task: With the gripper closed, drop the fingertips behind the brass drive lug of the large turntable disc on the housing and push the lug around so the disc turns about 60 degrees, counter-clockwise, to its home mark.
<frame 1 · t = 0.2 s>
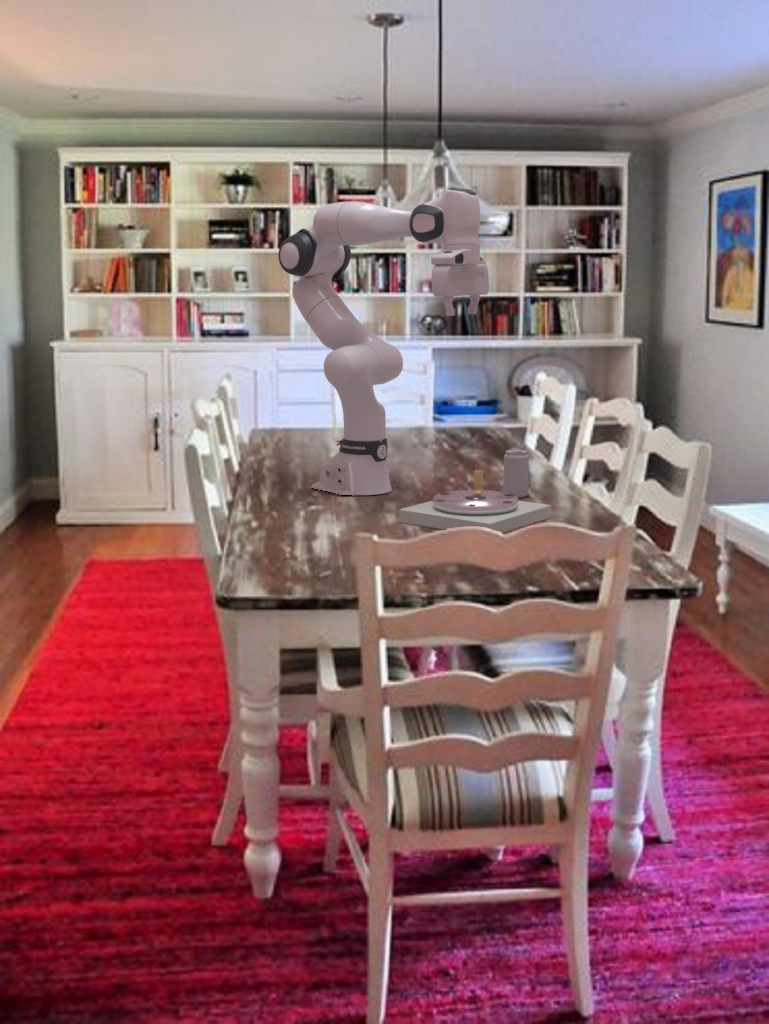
hand: (461, 314, 295), 47 cm above the table, fingers open, 8 cm apart
turntable disc: (475, 491, 286), point 7 cm above the table, hinge at 0.0°
housing: (475, 519, 287), on the table
beverage can: (515, 497, 315), on the table
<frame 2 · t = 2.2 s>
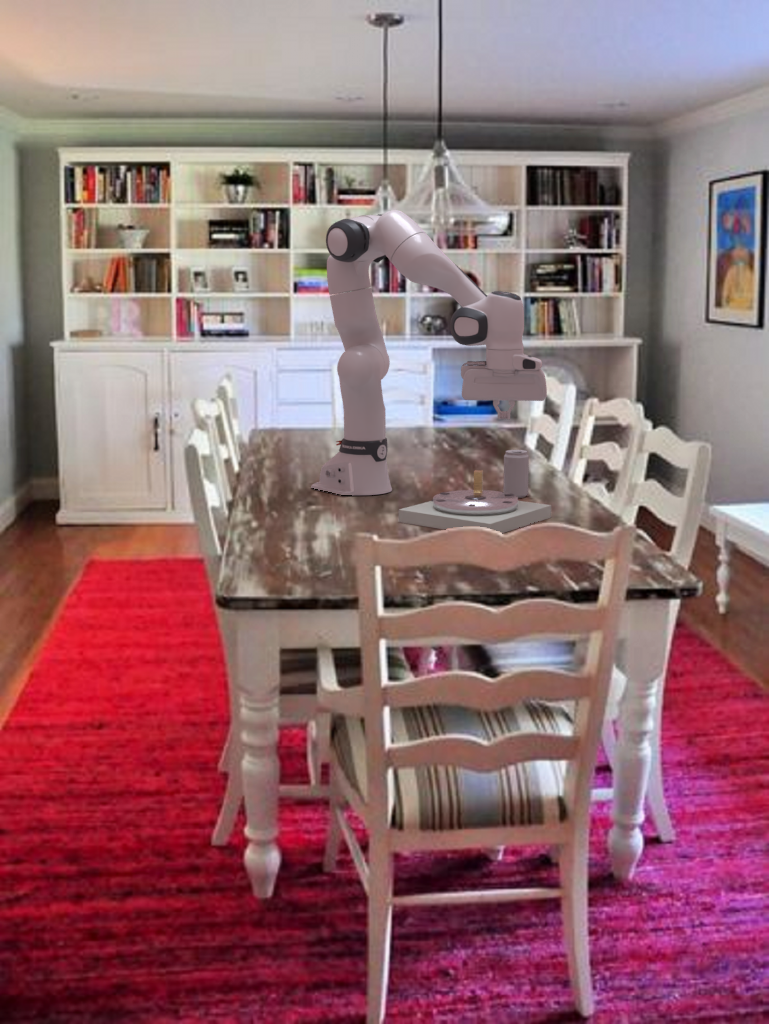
hand: (503, 419, 289), 23 cm above the table, fingers closed
nothing on the table moved.
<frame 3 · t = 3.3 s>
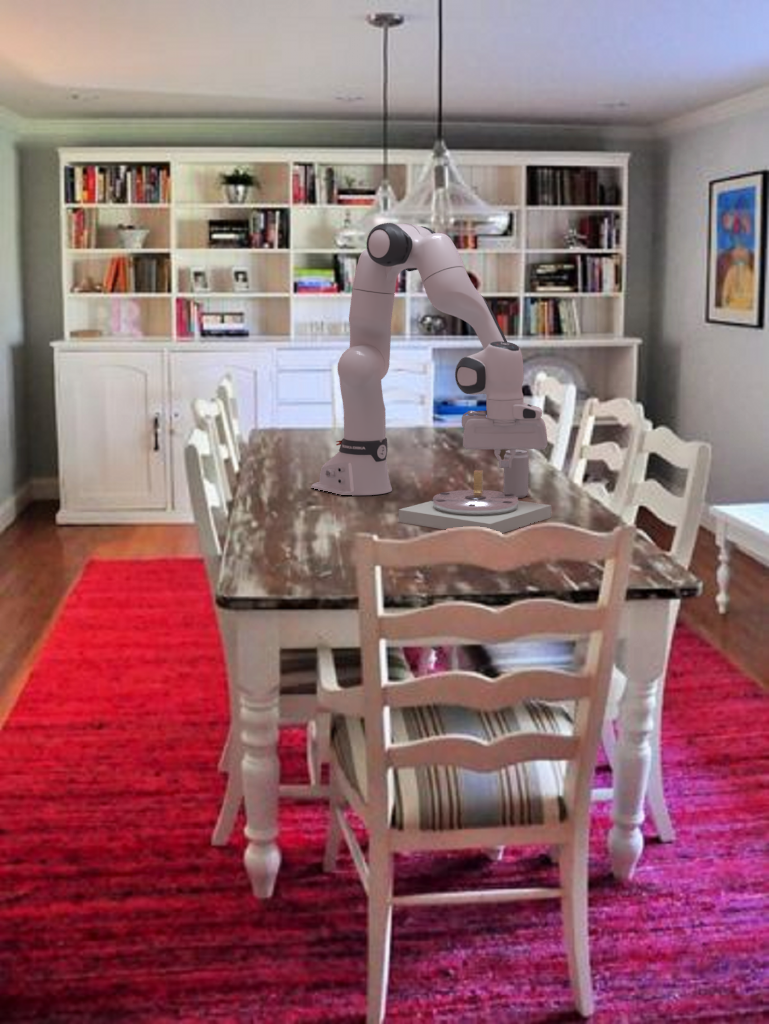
hand: (505, 467, 292), 11 cm above the table, fingers closed
nothing on the table moved.
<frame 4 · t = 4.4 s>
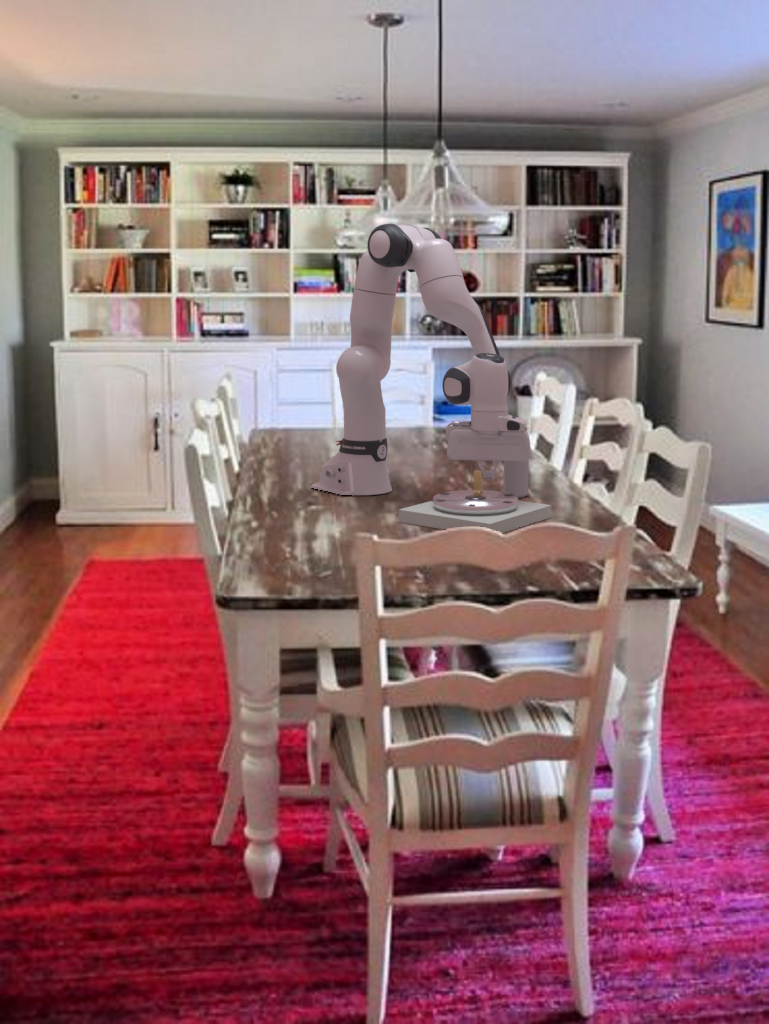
hand: (488, 478, 293), 9 cm above the table, fingers closed
turntable disc: (475, 491, 286), point 7 cm above the table, hinge at 0.0°, touching gripper
everything else where it was.
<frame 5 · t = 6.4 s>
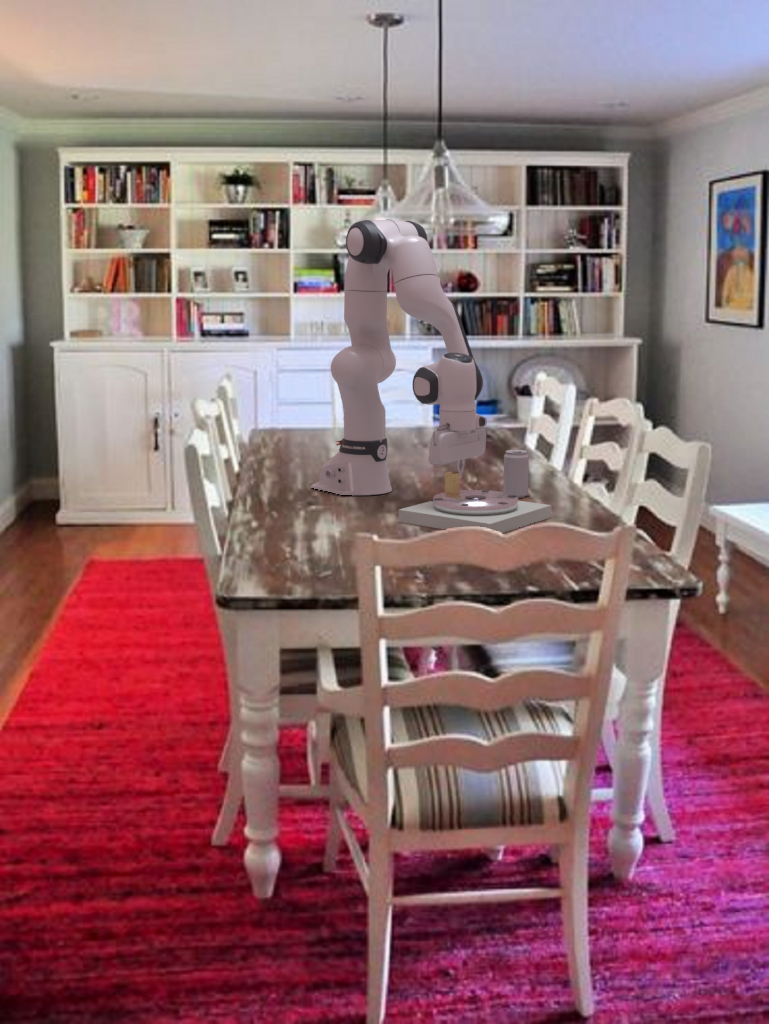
hand: (457, 478, 293), 9 cm above the table, fingers closed, pressing on turntable disc
turntable disc: (475, 491, 286), point 7 cm above the table, hinge at 49.2°, touching gripper
everything else where it was.
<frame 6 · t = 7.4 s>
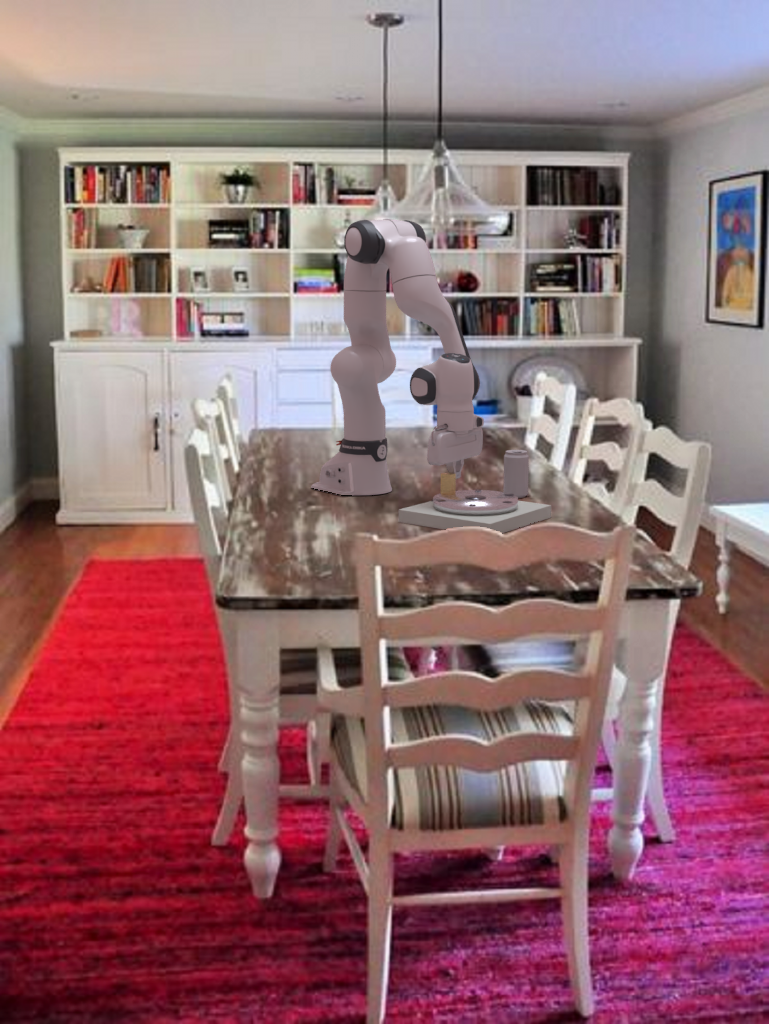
hand: (454, 478, 293), 9 cm above the table, fingers closed
turntable disc: (475, 491, 286), point 7 cm above the table, hinge at 60.5°
everything else where it was.
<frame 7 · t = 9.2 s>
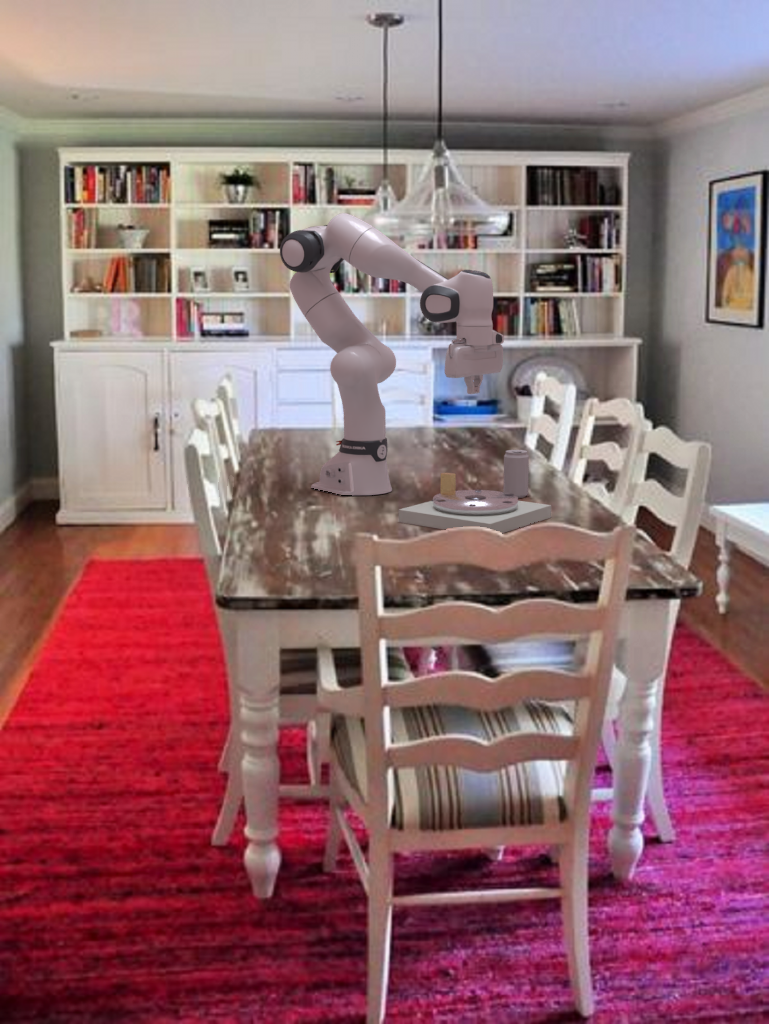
hand: (473, 393, 300), 28 cm above the table, fingers closed
nothing on the table moved.
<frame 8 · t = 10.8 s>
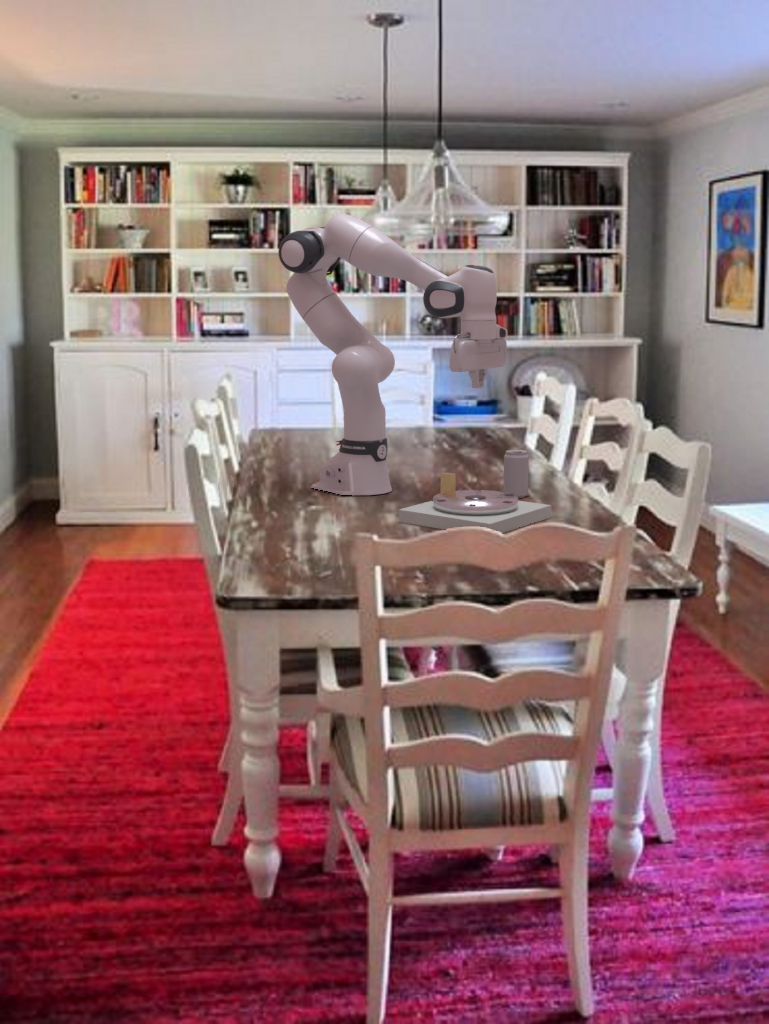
hand: (477, 387, 302), 29 cm above the table, fingers closed
nothing on the table moved.
at the end: turntable disc at +60° (first picture: +0°); beverage can moved 0.2 cm from its start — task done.
